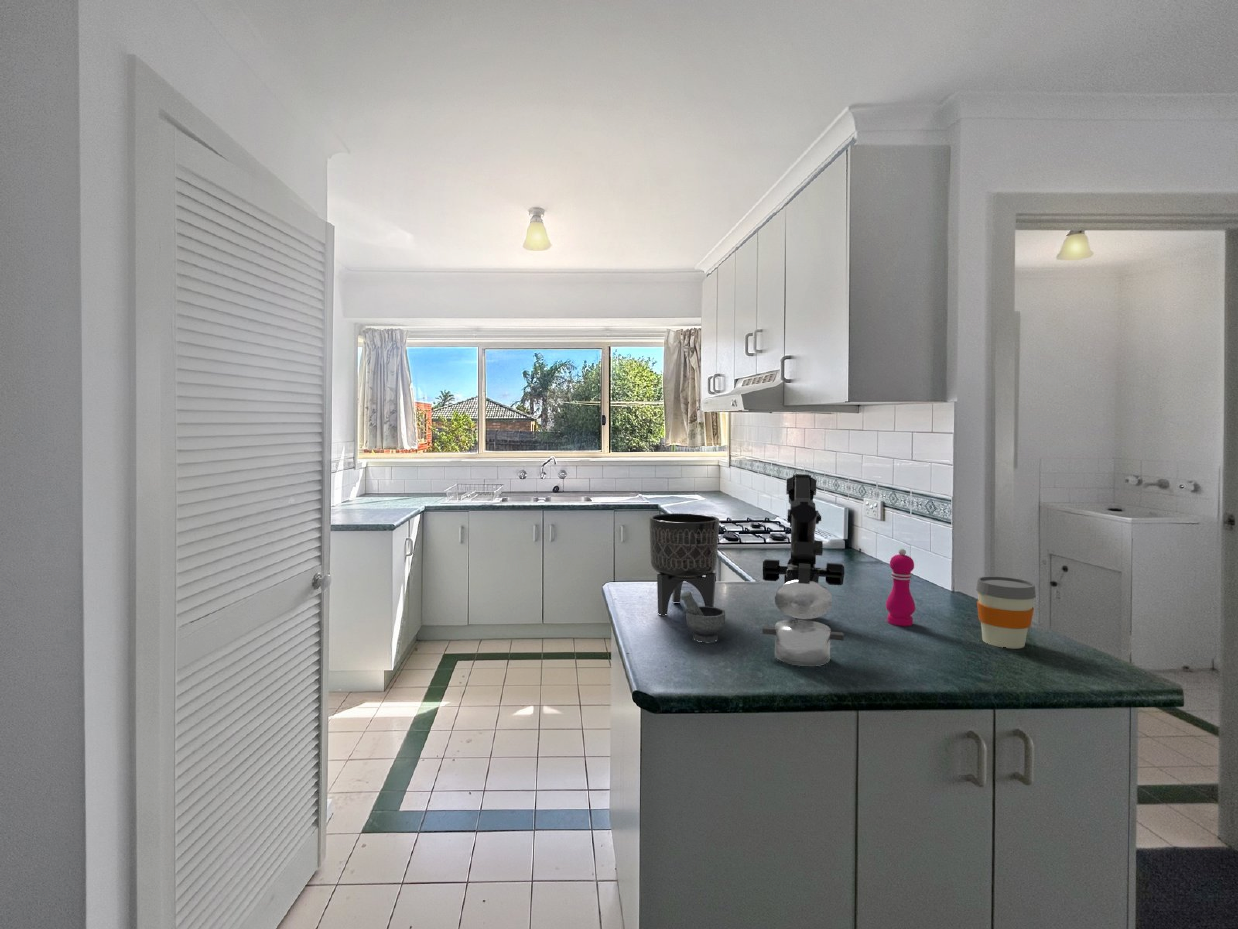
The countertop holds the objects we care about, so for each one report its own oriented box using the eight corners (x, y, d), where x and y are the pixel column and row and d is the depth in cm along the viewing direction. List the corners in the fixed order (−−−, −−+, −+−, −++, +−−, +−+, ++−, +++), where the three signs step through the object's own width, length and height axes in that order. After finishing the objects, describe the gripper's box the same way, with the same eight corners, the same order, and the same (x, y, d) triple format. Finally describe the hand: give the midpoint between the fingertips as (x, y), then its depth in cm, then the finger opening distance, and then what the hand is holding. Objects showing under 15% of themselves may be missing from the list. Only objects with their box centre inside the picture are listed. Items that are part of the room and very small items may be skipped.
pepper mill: (917, 627, 174) (920, 552, 173) (888, 625, 175) (890, 550, 174) (911, 620, 181) (913, 547, 180) (883, 618, 182) (885, 545, 181)
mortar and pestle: (717, 632, 168) (718, 585, 168) (731, 644, 159) (731, 594, 159) (675, 634, 166) (675, 587, 166) (685, 646, 157) (686, 596, 156)
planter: (724, 605, 194) (726, 515, 192) (708, 624, 175) (710, 524, 174) (660, 598, 201) (661, 511, 199) (638, 615, 183) (639, 520, 181)
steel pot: (762, 645, 158) (763, 616, 158) (840, 652, 154) (841, 622, 154) (761, 663, 147) (761, 631, 146) (845, 670, 142) (846, 638, 142)
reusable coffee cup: (962, 637, 166) (964, 578, 165) (997, 632, 171) (999, 574, 170) (1009, 653, 154) (1012, 590, 154) (1045, 647, 159) (1048, 585, 158)
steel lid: (774, 617, 158) (774, 612, 159) (830, 621, 155) (829, 616, 156) (775, 566, 147) (775, 561, 148) (835, 570, 144) (834, 565, 145)
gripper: (763, 526, 161) (761, 581, 151) (845, 529, 156) (847, 586, 146) (764, 552, 169) (761, 606, 159) (841, 557, 164) (843, 612, 154)
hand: (802, 602), depth 154 cm, fingers closed, pressing on steel lid
